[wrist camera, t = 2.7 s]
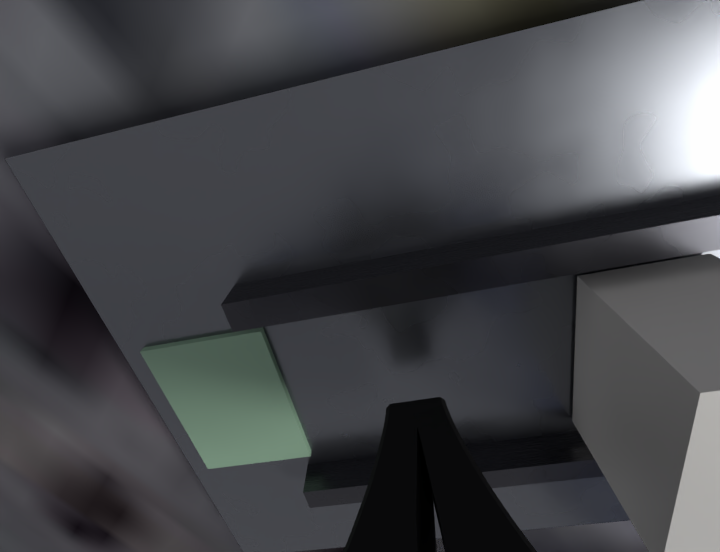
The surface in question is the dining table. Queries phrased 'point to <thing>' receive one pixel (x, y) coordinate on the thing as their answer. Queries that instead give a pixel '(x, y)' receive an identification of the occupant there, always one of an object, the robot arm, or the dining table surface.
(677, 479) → the switch handle
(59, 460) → the dining table surface
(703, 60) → the breaker panel
